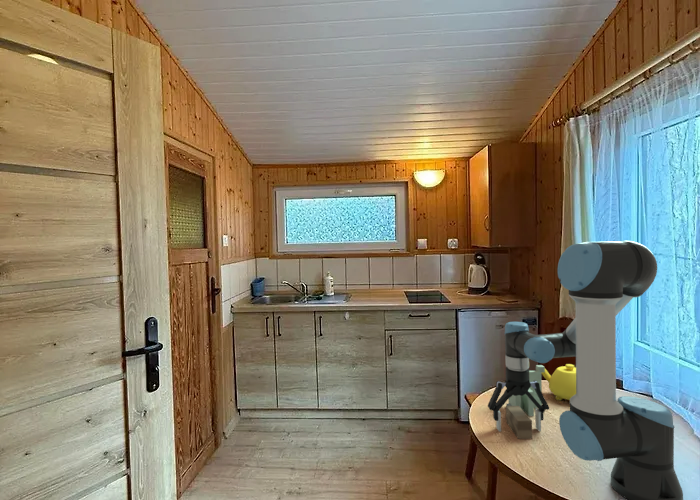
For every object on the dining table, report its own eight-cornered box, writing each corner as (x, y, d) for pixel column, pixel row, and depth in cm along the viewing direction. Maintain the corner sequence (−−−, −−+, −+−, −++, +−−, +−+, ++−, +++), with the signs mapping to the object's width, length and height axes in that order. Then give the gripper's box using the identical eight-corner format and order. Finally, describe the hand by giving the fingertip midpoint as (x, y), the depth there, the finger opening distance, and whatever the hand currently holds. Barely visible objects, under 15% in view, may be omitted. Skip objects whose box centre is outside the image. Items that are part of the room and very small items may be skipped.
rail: (532, 438, 135) (531, 420, 135) (518, 438, 135) (517, 420, 135) (514, 416, 151) (514, 400, 151) (502, 416, 152) (502, 400, 152)
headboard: (553, 415, 151) (552, 372, 151) (515, 416, 152) (514, 373, 151) (542, 405, 160) (542, 365, 160) (507, 406, 161) (506, 365, 161)
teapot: (532, 396, 170) (531, 363, 169) (546, 386, 181) (545, 355, 180) (586, 409, 155) (585, 373, 155) (597, 397, 166) (597, 363, 166)
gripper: (549, 363, 144) (550, 424, 144) (477, 364, 145) (479, 424, 146) (559, 370, 136) (560, 434, 137) (483, 371, 137) (484, 434, 138)
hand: (518, 429), depth 141 cm, fingers open, 13 cm apart
